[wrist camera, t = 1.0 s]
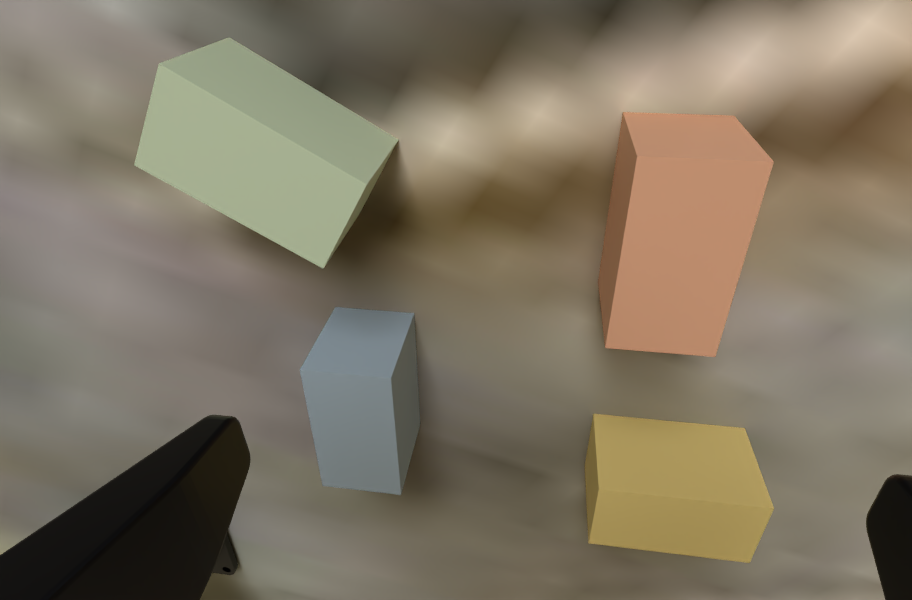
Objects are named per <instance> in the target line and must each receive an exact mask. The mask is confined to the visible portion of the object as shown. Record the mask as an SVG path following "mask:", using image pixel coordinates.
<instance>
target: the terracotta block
mask: <svg viewBox="0 0 912 600" xmlns="http://www.w3.org/2000/svg"><path fill="white" fill-rule="evenodd" d="M773 163H774V162H773V160H772V159H771V158H770V157H769V156H768V155H767V153H766V152H765V151H764V150H763V149H762V148H761V147H760V145H759V144H758V143H757V142H756V141H755V140H754V138H753V137H752V136H751V135H750V134H749V133H748V131H747V130H746V129H745V128H744V127H743V126H742V125H741V123H740V122H739V121H738V120H737V119H736V118H735V116H723V115H692V114H661V113H630V112H623V115H622V122H621V129H620V136H619V143H618V150H617V156H616V163H615V170H614V177H613V184H612V190H611V197H610V204H609V211H608V218H607V224H606V231H605V238H604V245H603V252H602V259H601V265H600V272H599V279H598V285H599V295H600V304H601V313H602V323H603V332H604V341H605V348H612V349H624V350H636V351H649V352H661V353H673V354H685V355H698V356H710V357H715V356H716V353H717V350H718V346H719V343H720V340H721V336H722V333H723V330H724V326H725V323H726V320H727V316H728V313H729V310H730V306H731V303H732V300H733V296H734V293H735V290H736V286H737V283H738V280H739V276H740V273H741V270H742V266H743V263H744V260H745V256H746V253H747V250H748V246H749V243H750V239H751V236H752V233H753V229H754V226H755V223H756V219H757V216H758V213H759V209H760V206H761V203H762V199H763V196H764V193H765V189H766V186H767V183H768V179H769V176H770V173H771V169H772V166H773Z"/></svg>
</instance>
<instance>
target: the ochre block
mask: <svg viewBox="0 0 912 600" xmlns="http://www.w3.org/2000/svg"><path fill="white" fill-rule="evenodd" d="M585 482H586V502H587V522H588V542H589V543H590V544H599V545H607V546H615V547H623V548H631V549H640V550H648V551H656V552H664V553H673V554H681V555H689V556H697V557H705V558H714V559H722V560H730V561H738V562H747V563H750V561H751V559H752V556H753V554H754V552H755V550H756V547H757V545H758V543H759V541H760V539H761V536H762V534H763V532H764V530H765V527H766V525H767V523H768V521H769V519H770V516H771V514H772V512H773V510H774V507H773V505H772V502H771V499H770V496H769V494H768V491H767V488H766V485H765V483H764V480H763V477H762V474H761V472H760V469H759V466H758V463H757V461H756V458H755V455H754V452H753V450H752V447H751V444H750V441H749V439H748V436H747V433H746V430H745V428H737V427H727V426H716V425H705V424H695V423H684V422H674V421H663V420H653V419H642V418H632V417H621V416H611V415H600V414H593V420H592V426H591V432H590V438H589V444H588V450H587V456H586V462H585Z"/></svg>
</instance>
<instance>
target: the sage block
mask: <svg viewBox="0 0 912 600" xmlns="http://www.w3.org/2000/svg"><path fill="white" fill-rule="evenodd" d="M397 142H398V139H397V138H395V137H394V136H392V135H390V134H389V133H387V132H385V131H384V130H382V129H380V128H379V127H377V126H375V125H374V124H372V123H370V122H369V121H367V120H365V119H364V118H362V117H360V116H359V115H357V114H355V113H354V112H352V111H350V110H349V109H347V108H345V107H344V106H342V105H340V104H339V103H337V102H335V101H334V100H332V99H330V98H329V97H327V96H326V95H324V94H322V93H321V92H319V91H317V90H316V89H314V88H312V87H311V86H309V85H307V84H306V83H304V82H302V81H301V80H299V79H297V78H296V77H294V76H292V75H291V74H289V73H287V72H286V71H284V70H282V69H281V68H279V67H277V66H276V65H274V64H272V63H271V62H269V61H267V60H266V59H264V58H262V57H261V56H259V55H257V54H256V53H254V52H253V51H251V50H249V49H248V48H246V47H244V46H243V45H241V44H239V43H238V42H236V41H234V40H233V39H231V38H226V39H223V40H221V41H218V42H215V43H213V44H210V45H207V46H205V47H202V48H199V49H197V50H194V51H191V52H189V53H186V54H183V55H181V56H178V57H175V58H173V59H170V60H167V61H165V62H162V63H159V65H158V70H157V74H156V78H155V82H154V86H153V90H152V94H151V98H150V102H149V106H148V111H147V115H146V119H145V123H144V127H143V131H142V135H141V139H140V143H139V147H138V151H137V156H136V160H135V164H134V165H135V166H137V167H138V168H140V169H142V170H144V171H146V172H148V173H149V174H151V175H153V176H155V177H157V178H159V179H160V180H162V181H164V182H166V183H168V184H170V185H171V186H173V187H175V188H177V189H179V190H180V191H182V192H184V193H186V194H188V195H190V196H191V197H193V198H195V199H197V200H199V201H201V202H202V203H204V204H206V205H208V206H210V207H212V208H213V209H215V210H217V211H219V212H221V213H222V214H224V215H226V216H228V217H230V218H232V219H233V220H235V221H237V222H239V223H241V224H243V225H244V226H246V227H248V228H250V229H252V230H254V231H255V232H257V233H259V234H261V235H263V236H264V237H266V238H268V239H270V240H272V241H274V242H275V243H277V244H279V245H281V246H283V247H285V248H286V249H288V250H290V251H292V252H294V253H295V254H297V255H299V256H301V257H303V258H305V259H306V260H308V261H310V262H312V263H314V264H316V265H317V266H319V267H321V268H323V269H324V267H325V266H326V264H327V262H328V261H329V259H330V258H331V256H332V255H333V253H334V252H335V250H336V249H337V247H338V246H339V244H340V243H341V241H342V240H343V238H344V237H345V235H346V234H347V232H348V231H349V229H350V228H351V226H352V225H353V223H354V222H355V220H356V219H357V217H358V216H359V214H360V212H361V210H362V208H363V206H364V204H365V203H366V201H367V199H368V197H369V195H370V193H371V191H372V189H373V187H374V185H375V184H376V182H377V180H378V178H379V176H380V174H381V172H382V170H383V168H384V166H385V165H386V163H387V161H388V159H389V157H390V155H391V153H392V151H393V149H394V147H395V146H396V144H397Z"/></svg>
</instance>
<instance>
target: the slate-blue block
mask: <svg viewBox="0 0 912 600" xmlns="http://www.w3.org/2000/svg"><path fill="white" fill-rule="evenodd" d="M300 373H301V378H302V383H303V389H304V394H305V399H306V404H307V409H308V414H309V419H310V424H311V429H312V434H313V439H314V444H315V449H316V455H317V460H318V465H319V470H320V475H321V480H322V485H323V486H329V487H337V488H346V489H354V490H363V491H371V492H380V493H388V494H397V495H401V494H402V490H403V486H404V482H405V479H406V475H407V471H408V468H409V464H410V460H411V457H412V453H413V449H414V445H415V442H416V438H417V434H418V431H419V427H420V408H419V390H418V372H417V354H416V336H415V317H414V313H405V312H392V311H379V310H366V309H353V308H340V307H335V309H334V310H333V312H332V314H331V316H330V317H329V319H328V321H327V323H326V324H325V326H324V328H323V330H322V332H321V333H320V335H319V337H318V339H317V340H316V342H315V344H314V346H313V347H312V349H311V351H310V353H309V355H308V356H307V358H306V360H305V362H304V363H303V365H302V367H301V369H300Z"/></svg>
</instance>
